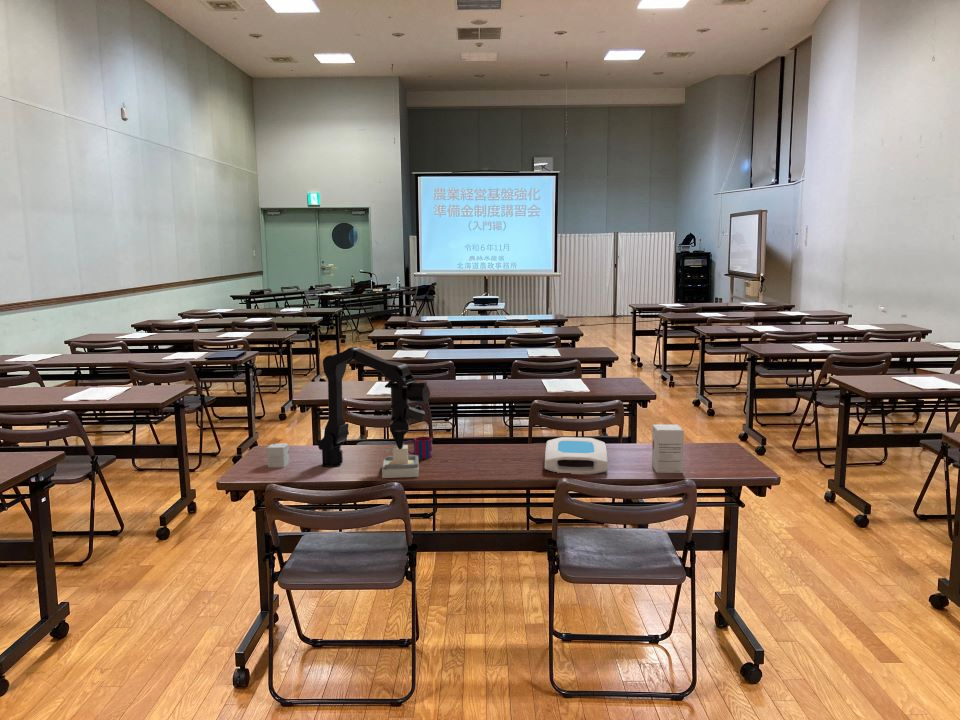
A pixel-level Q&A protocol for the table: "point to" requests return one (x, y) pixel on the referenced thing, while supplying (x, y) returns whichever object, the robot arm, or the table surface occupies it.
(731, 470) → the table surface
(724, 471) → the table surface
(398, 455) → the spout can
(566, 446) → the document scanner
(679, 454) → the supplement box
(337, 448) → the robot arm
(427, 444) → the mug
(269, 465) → the skincare box
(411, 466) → the grey tray
